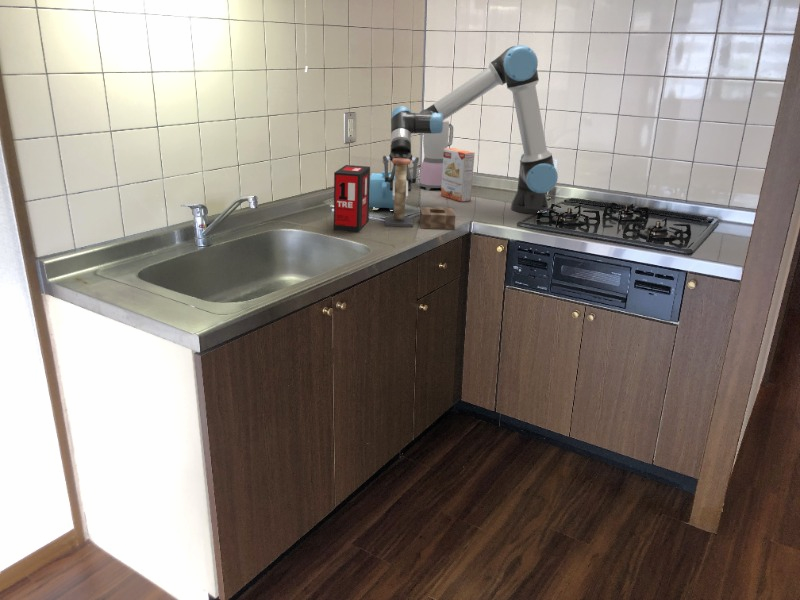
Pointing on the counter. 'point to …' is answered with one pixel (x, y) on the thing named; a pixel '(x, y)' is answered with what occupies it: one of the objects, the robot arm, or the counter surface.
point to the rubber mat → (398, 222)
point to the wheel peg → (400, 186)
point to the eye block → (437, 218)
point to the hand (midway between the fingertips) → (400, 197)
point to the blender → (434, 156)
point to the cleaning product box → (351, 198)
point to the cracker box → (457, 174)
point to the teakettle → (380, 192)
